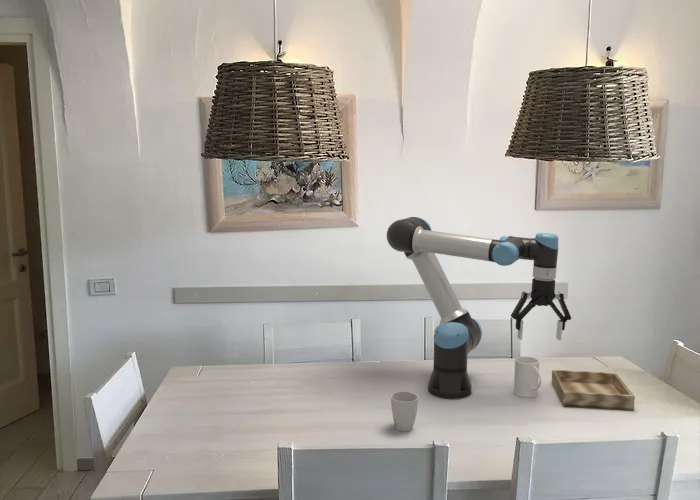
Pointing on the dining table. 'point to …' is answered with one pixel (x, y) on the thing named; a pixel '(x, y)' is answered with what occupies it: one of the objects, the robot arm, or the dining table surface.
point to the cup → (404, 410)
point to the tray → (592, 390)
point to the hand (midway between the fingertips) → (539, 339)
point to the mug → (526, 377)
